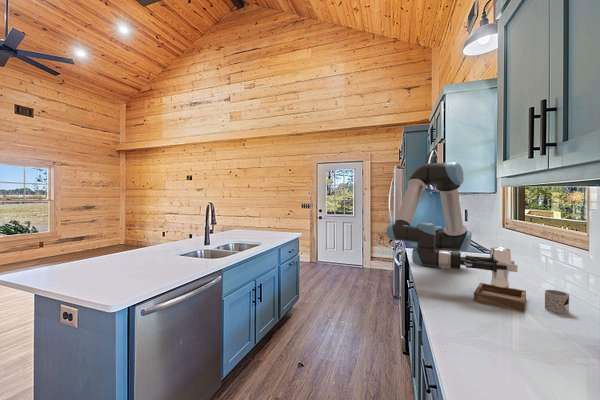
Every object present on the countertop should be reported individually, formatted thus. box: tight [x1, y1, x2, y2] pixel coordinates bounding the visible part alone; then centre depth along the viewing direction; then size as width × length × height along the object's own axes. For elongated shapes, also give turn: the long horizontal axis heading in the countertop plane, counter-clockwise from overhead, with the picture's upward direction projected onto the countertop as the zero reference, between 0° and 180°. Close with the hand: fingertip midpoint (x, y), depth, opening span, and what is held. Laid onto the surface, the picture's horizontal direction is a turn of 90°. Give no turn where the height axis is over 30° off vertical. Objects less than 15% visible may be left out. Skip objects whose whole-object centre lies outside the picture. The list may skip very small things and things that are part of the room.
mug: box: [544, 289, 570, 315], centre depth 106 cm, size 10×7×7 cm
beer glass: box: [489, 247, 512, 288], centre depth 114 cm, size 7×7×15 cm
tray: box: [473, 282, 527, 313], centre depth 115 cm, size 16×16×4 cm
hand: (515, 266), depth 112 cm, fingers closed on beer glass, 7 cm apart
